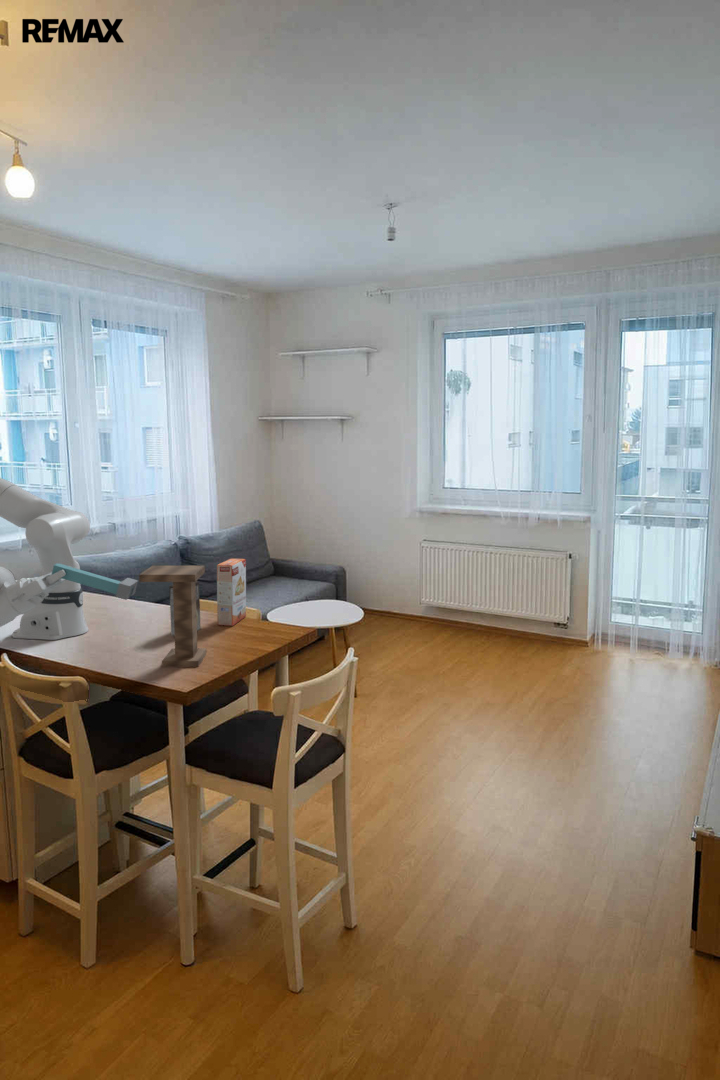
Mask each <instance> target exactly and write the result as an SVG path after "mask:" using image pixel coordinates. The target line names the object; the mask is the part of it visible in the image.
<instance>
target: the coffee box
mask: <svg viewBox="0 0 720 1080" xmlns="http://www.w3.org/2000/svg"><path fill="white" fill-rule="evenodd" d="M168 588H169V606H170V607H169V608H170V609H169V610H170V614H169V615H170V633H171V636H175V632H174V602H173V584H172V585H170V586H169V587H168ZM196 616H197V632H198V631H199V630H201V627H202V626H201V599H200V581H196Z"/></svg>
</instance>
